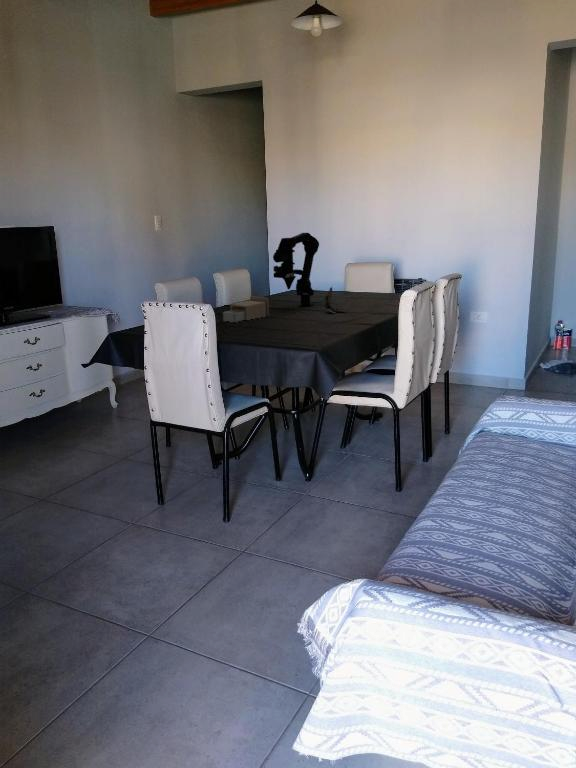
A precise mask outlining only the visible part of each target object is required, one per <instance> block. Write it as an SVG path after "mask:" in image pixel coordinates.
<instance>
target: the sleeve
mask: <svg viewBox="0 0 576 768" xmlns="http://www.w3.org/2000/svg"><path fill="white" fill-rule="evenodd" d="M229 306H230V310H229V311H231V310H236V309H241V308H246V320H250V319H254V320H256V319H255V318H259V319H262V318H261V317H263V318H266V317H267V316H266V307H265V302H257V301H250V300H245V301H241V302H235V303H230V304H229ZM250 321H251V320H250Z"/></svg>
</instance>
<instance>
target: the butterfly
mask: <svg viewBox="0 0 576 768" xmlns="http://www.w3.org/2000/svg"><path fill="white" fill-rule="evenodd" d="M332 300H333V286H330V288H329V290H328V292H327V293H325V294H324V295H323V297H322V303H321V305H320V306H321V307H324V308H325V309H324V310H323V312H325V313H327V311H328V312H330V313H333V314H335V313H336V311H338V312H343V313H346V312H345V310H343V309H340V308H335V307H332V305H331V304H332ZM336 307H338V305H336Z"/></svg>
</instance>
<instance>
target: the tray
mask: <svg viewBox="0 0 576 768" xmlns="http://www.w3.org/2000/svg"><path fill="white" fill-rule="evenodd" d="M249 301H257V302H265V307H266V317H267V316H269V317H270V307H269V305H270V304H269V303H270V302H269V301H270V300H269V297H261V296H253V295H252V296H250V298H249ZM242 320H246V308H241V309H236V310H227V311H222V321H223V322H226V321H229V322H228V323H233V322H236V323H239V322H238V321H241V322H243V321H242Z"/></svg>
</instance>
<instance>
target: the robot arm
mask: <svg viewBox="0 0 576 768" xmlns="http://www.w3.org/2000/svg"><path fill="white" fill-rule="evenodd" d="M297 244H302V246H303V250H304V253H305V255H304V260H303V261H304V262H303V265H302V269H298V268H297V269H294V265H295V262H294V253H295V250H294V248H296V246H297ZM319 246H320V241H318V239H317V238H316V237H314V236H313V235H311V233H310V232H301V233H299V234H295V235H294V236H292V237H282V238H281V239H280V242H279V244H278V247H277V249H276V250H275V252H274V253H273V255H272V259H273V261H274V262H275V263H279V264H280V263H281V264H280V266H279V265H274V266H273V278H275V279H276V278H277V279H282V280H283V281H284V283H285V286H286V288H287V290H290V289H291V287H292V285H293V283H294V280H295V279H296V278H297V275H299V276H301V277H300V278H299V279H297V280H296V284H295V291H296V295H297V296H300V304H298V307H311V306H313V305H314V304H313V303H311V297H313V296H314V293H315V291H314V289H313V288H312V283H311V280H310V277H311V272H312V267H313V262H314V256H315V255H316V253H317V252H318V250H319V248H320V247H319Z"/></svg>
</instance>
